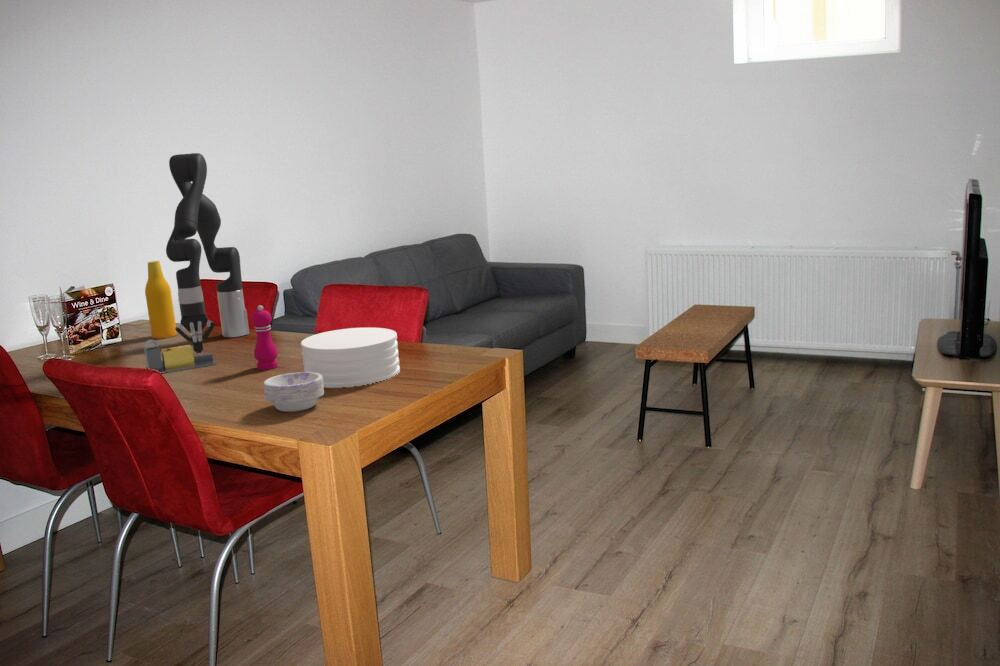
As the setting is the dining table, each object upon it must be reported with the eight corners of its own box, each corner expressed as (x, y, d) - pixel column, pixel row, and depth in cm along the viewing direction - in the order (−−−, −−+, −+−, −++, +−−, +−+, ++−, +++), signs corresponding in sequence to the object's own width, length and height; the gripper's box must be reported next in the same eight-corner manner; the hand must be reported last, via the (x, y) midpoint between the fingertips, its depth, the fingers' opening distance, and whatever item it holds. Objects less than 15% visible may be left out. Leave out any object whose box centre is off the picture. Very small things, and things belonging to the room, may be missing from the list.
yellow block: (191, 360, 282) (189, 344, 280) (194, 364, 277) (192, 347, 275) (163, 365, 277) (160, 348, 276) (165, 368, 273) (163, 351, 271)
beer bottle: (182, 334, 329) (171, 260, 323) (162, 339, 321) (150, 263, 315) (167, 332, 334) (156, 259, 328) (146, 338, 326) (135, 263, 320)
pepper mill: (250, 369, 267) (242, 307, 263) (267, 363, 274) (259, 302, 269) (268, 371, 264) (260, 308, 260) (284, 365, 270) (276, 303, 266)
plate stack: (418, 367, 258) (415, 330, 256) (359, 392, 235) (355, 352, 233) (347, 360, 273) (344, 325, 270) (285, 383, 249) (280, 345, 247)
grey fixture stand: (209, 357, 287) (205, 328, 285) (216, 364, 277) (211, 334, 275) (146, 367, 278) (141, 337, 276) (150, 375, 268) (145, 344, 265)
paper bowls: (316, 395, 235) (313, 367, 233) (332, 408, 221) (329, 379, 220) (260, 405, 228) (257, 377, 226) (274, 420, 214) (270, 389, 213)
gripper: (171, 305, 269) (179, 358, 273) (214, 299, 275) (221, 351, 279) (168, 302, 276) (176, 353, 279) (210, 296, 282) (217, 347, 285)
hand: (198, 352), depth 279 cm, fingers closed
